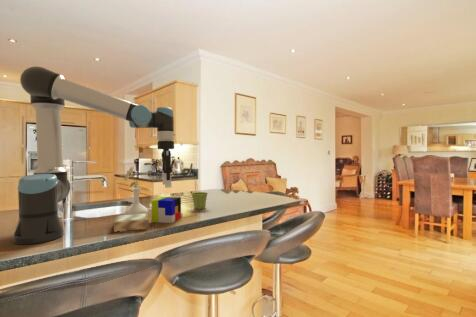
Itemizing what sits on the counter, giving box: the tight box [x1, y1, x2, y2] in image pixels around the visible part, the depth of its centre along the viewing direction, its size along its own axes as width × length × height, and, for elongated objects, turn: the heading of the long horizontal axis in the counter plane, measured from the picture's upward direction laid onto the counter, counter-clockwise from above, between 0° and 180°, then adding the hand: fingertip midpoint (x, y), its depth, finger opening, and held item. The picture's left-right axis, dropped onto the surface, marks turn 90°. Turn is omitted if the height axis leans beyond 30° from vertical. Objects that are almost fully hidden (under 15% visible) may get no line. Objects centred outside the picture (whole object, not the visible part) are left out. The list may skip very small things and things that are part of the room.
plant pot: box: [190, 191, 209, 210], centre depth 155 cm, size 9×9×9 cm
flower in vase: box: [123, 166, 149, 215], centre depth 138 cm, size 13×11×25 cm
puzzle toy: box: [150, 196, 182, 224], centre depth 128 cm, size 10×10×10 cm
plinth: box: [113, 212, 149, 233], centre depth 117 cm, size 13×13×4 cm
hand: (166, 186), depth 128 cm, fingers open, 13 cm apart
